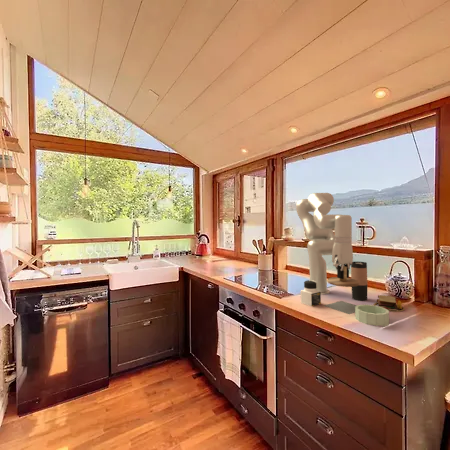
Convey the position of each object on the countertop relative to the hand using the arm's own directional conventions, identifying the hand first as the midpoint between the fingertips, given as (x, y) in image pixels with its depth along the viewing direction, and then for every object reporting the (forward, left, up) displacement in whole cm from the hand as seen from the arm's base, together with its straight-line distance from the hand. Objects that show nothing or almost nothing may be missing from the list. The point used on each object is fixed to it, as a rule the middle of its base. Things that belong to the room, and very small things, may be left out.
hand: (343, 277), depth 122 cm
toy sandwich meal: (+12, +17, -15) cm, 25 cm away
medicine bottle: (-12, -9, -15) cm, 22 cm away
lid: (0, 0, -3) cm, 3 cm away
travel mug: (-3, +18, -15) cm, 23 cm away
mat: (+1, 0, -15) cm, 15 cm away
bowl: (+17, -5, -15) cm, 23 cm away
